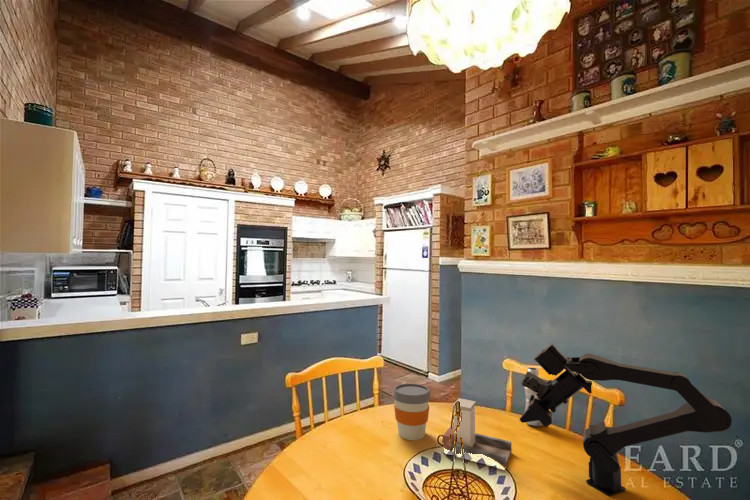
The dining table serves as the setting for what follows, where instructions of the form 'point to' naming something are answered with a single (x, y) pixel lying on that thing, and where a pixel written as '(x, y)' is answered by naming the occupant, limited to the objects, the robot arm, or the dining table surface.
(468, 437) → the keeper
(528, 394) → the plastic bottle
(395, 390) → the reusable coffee cup
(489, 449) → the track
